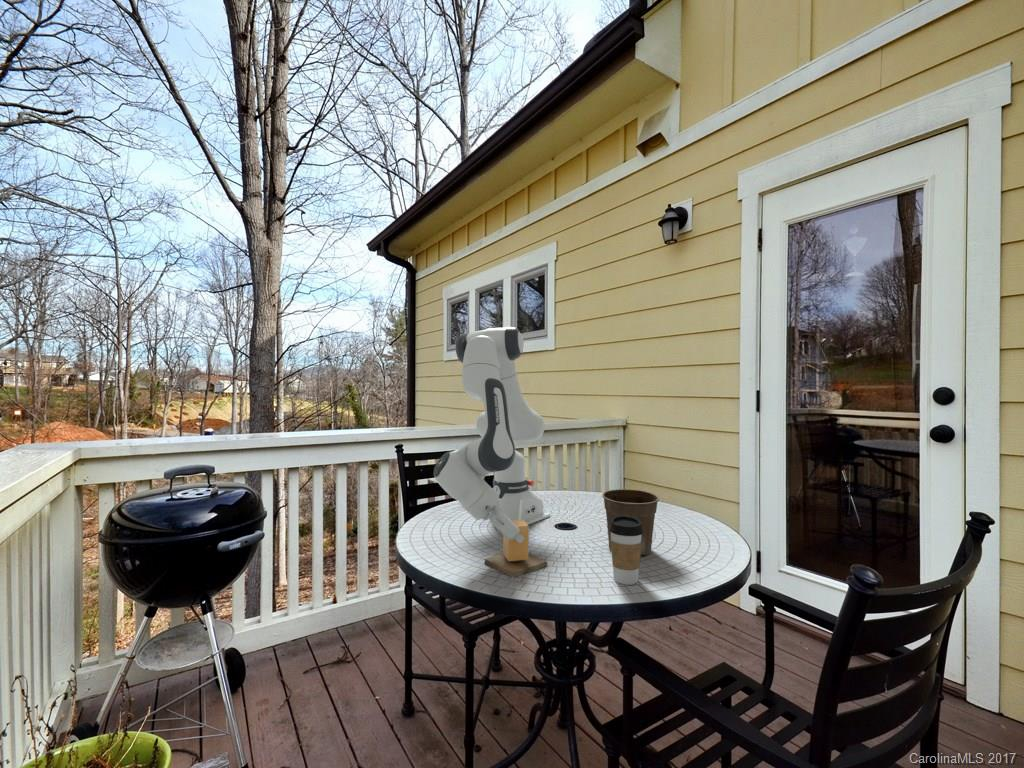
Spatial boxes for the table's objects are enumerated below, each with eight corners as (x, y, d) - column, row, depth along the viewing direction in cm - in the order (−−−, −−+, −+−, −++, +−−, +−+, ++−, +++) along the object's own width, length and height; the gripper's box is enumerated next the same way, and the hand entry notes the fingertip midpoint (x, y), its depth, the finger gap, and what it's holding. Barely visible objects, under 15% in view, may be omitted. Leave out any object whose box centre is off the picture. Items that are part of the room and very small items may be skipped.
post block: (518, 553, 138) (518, 531, 138) (547, 565, 129) (547, 542, 129) (484, 563, 130) (484, 540, 130) (512, 577, 121) (512, 553, 121)
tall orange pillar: (503, 553, 132) (503, 521, 131) (522, 551, 133) (522, 519, 133) (508, 561, 126) (508, 527, 126) (528, 559, 128) (528, 525, 128)
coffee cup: (637, 572, 124) (637, 515, 124) (647, 586, 116) (648, 525, 116) (605, 573, 124) (605, 515, 124) (613, 587, 116) (613, 525, 115)
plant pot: (661, 562, 131) (662, 504, 131) (601, 558, 134) (601, 501, 134) (656, 542, 147) (656, 490, 147) (602, 539, 150) (602, 488, 150)
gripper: (500, 503, 117) (538, 539, 120) (482, 485, 137) (515, 516, 140) (482, 523, 116) (521, 559, 119) (467, 502, 136) (500, 533, 139)
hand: (518, 536), depth 130 cm, fingers open, 6 cm apart
